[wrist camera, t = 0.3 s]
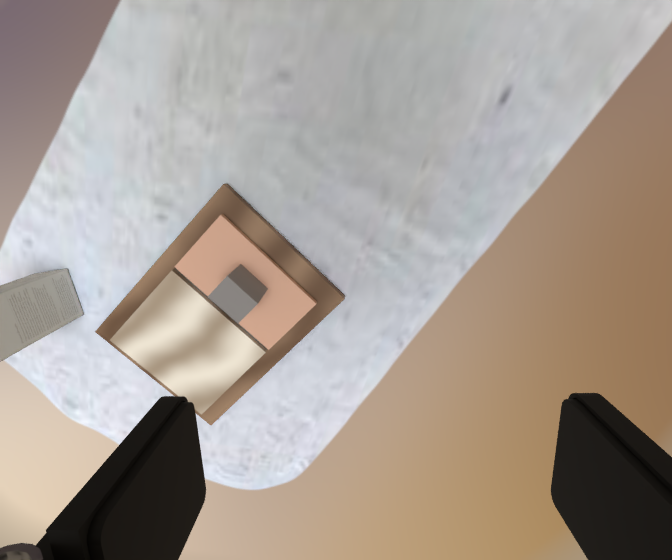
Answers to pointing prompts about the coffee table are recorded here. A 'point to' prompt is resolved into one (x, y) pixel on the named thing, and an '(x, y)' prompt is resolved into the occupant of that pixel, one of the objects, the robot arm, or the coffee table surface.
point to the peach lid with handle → (245, 282)
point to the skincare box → (35, 309)
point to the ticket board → (209, 317)
